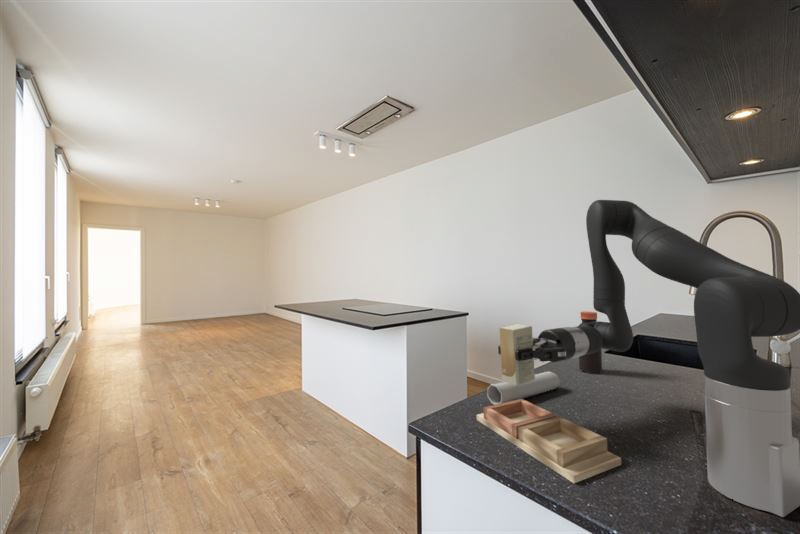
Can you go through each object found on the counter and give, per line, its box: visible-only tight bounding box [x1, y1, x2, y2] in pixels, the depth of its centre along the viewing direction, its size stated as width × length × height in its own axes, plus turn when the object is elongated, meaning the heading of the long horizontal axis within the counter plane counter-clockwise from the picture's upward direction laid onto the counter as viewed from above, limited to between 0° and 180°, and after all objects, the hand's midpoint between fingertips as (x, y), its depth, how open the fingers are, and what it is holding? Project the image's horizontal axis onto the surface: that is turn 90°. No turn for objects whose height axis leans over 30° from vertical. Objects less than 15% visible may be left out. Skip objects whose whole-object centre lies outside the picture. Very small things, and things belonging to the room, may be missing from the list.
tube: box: [486, 370, 561, 405], centre depth 92 cm, size 5×5×25 cm
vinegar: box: [578, 311, 603, 374], centre depth 113 cm, size 7×7×20 cm
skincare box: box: [498, 323, 536, 386], centre depth 74 cm, size 6×4×12 cm
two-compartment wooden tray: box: [476, 398, 622, 484], centre depth 68 cm, size 26×12×4 cm, turn 24°
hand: (508, 352), depth 73 cm, fingers closed on skincare box, 4 cm apart
